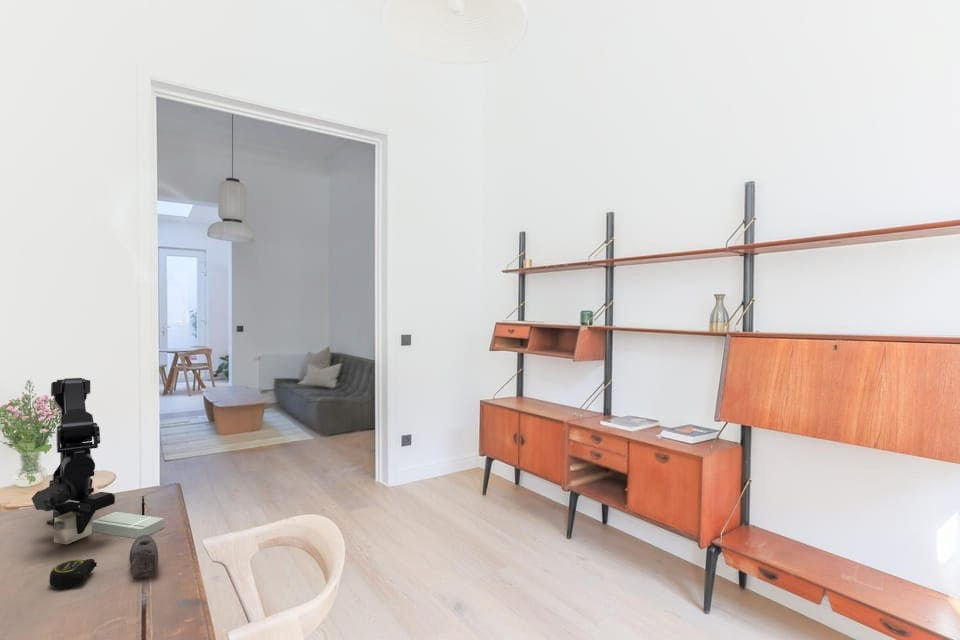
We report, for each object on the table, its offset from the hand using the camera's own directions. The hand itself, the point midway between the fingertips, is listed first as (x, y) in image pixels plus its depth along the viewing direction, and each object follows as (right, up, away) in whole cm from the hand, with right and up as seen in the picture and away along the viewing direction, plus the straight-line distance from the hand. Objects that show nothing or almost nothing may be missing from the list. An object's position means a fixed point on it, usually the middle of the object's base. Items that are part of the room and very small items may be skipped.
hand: (73, 532), depth 121 cm
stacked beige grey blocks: (0, -1, 0) cm, 1 cm away
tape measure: (+15, -3, -17) cm, 23 cm away
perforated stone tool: (+25, -4, -11) cm, 28 cm away
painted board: (+8, -3, +8) cm, 11 cm away
